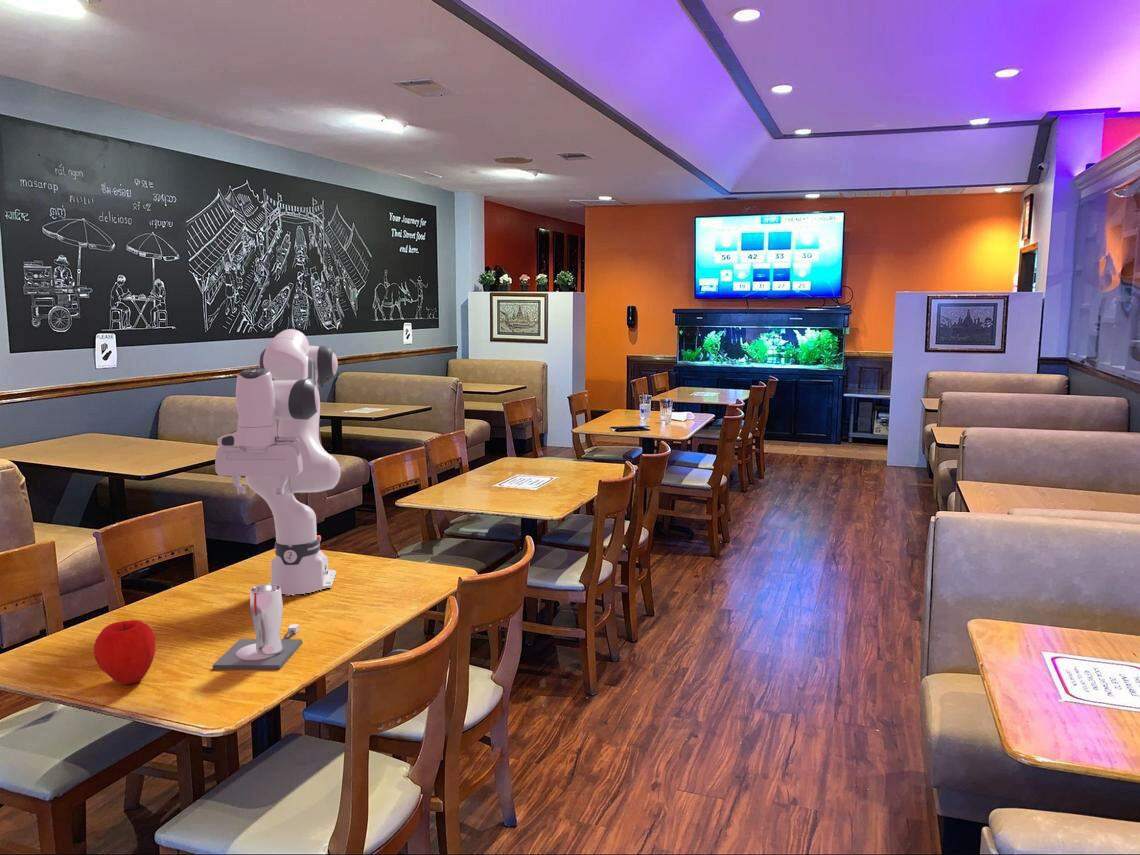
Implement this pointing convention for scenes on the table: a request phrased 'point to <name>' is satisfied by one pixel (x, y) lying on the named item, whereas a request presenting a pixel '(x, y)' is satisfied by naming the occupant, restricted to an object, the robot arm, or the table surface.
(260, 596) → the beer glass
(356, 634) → the table surface
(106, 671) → the apple
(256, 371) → the robot arm
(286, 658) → the charging dock
